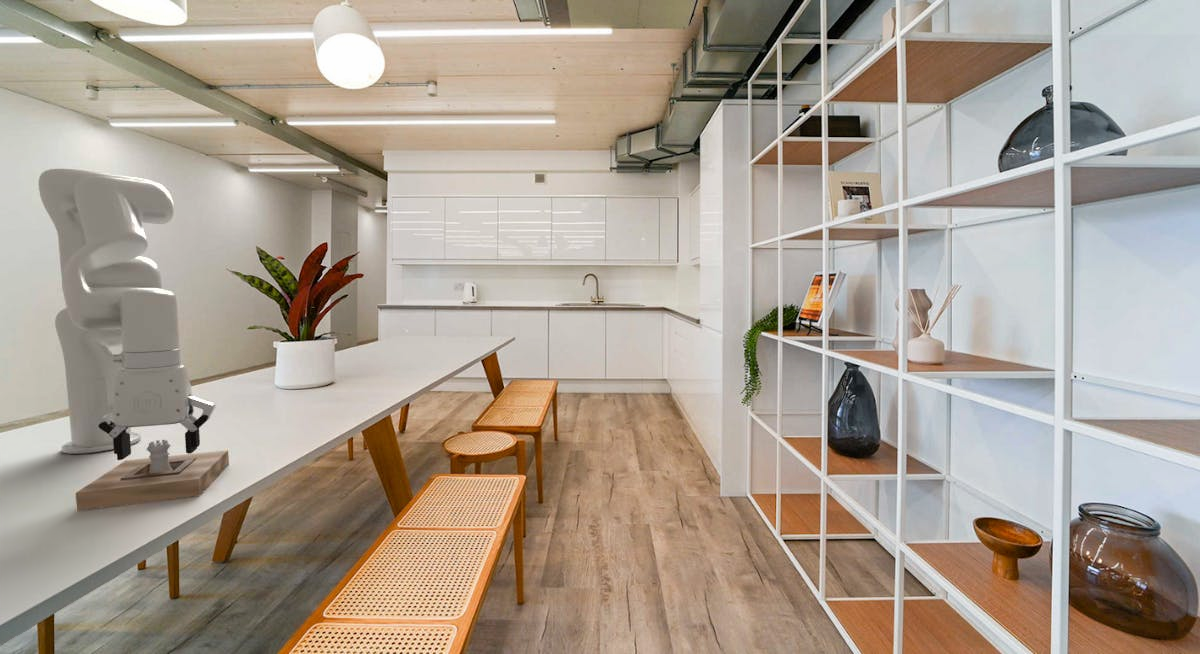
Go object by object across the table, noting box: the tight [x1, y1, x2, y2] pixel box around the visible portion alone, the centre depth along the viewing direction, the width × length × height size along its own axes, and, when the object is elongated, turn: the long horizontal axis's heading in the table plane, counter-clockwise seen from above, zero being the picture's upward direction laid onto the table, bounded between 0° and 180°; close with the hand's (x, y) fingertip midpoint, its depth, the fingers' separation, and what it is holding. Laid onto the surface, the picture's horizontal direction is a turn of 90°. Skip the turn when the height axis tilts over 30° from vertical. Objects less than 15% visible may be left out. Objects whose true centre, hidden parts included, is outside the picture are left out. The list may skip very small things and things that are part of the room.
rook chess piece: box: [146, 439, 173, 473], centre depth 90 cm, size 4×4×8 cm
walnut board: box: [75, 449, 230, 512], centre depth 90 cm, size 16×16×3 cm
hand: (158, 454), depth 90 cm, fingers open, 9 cm apart
